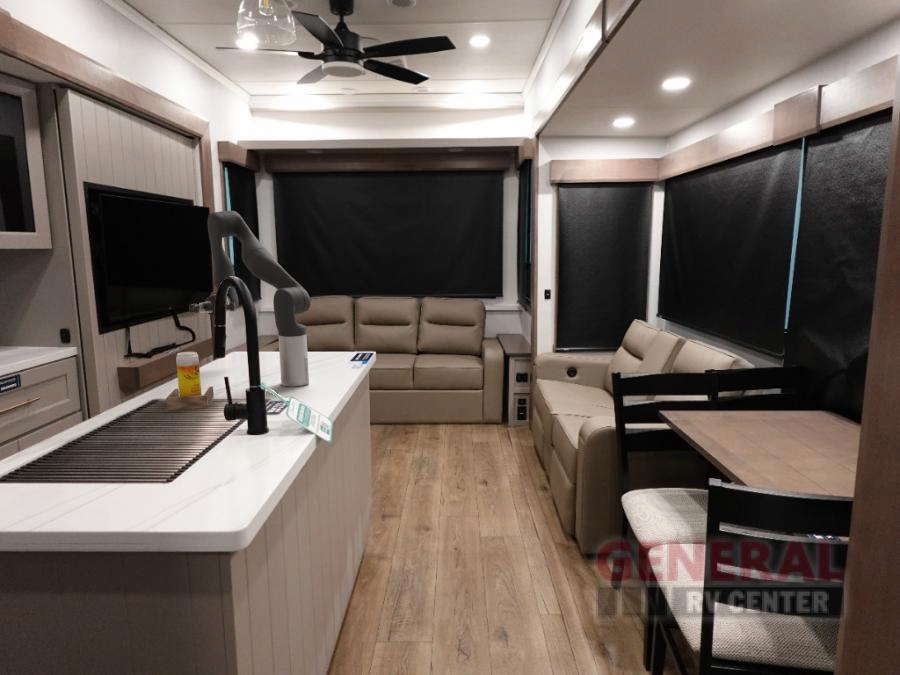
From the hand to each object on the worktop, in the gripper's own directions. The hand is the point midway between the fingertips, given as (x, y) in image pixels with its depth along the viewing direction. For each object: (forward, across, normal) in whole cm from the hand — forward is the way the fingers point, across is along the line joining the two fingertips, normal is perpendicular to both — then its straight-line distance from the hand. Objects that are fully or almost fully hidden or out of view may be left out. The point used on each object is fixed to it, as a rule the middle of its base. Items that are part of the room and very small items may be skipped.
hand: (209, 309), depth 182 cm
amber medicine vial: (+20, -4, +26) cm, 33 cm away
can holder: (+20, -4, +27) cm, 33 cm away
